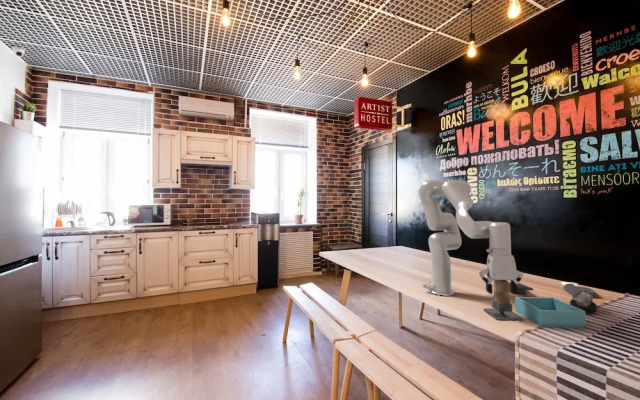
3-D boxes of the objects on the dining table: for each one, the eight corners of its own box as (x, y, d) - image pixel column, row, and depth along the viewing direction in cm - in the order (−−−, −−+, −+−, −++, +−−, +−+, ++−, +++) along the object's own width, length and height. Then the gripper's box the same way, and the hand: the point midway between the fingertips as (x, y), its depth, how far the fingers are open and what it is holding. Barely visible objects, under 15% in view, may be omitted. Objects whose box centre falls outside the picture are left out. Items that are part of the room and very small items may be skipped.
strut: (499, 311, 113) (498, 282, 113) (492, 306, 118) (491, 278, 118) (512, 311, 112) (511, 282, 113) (504, 307, 118) (503, 278, 118)
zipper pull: (512, 286, 133) (502, 274, 156) (512, 300, 133) (503, 286, 156) (535, 288, 129) (522, 276, 152) (535, 302, 129) (522, 288, 152)
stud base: (496, 320, 111) (496, 306, 111) (483, 310, 120) (483, 297, 121) (522, 320, 110) (522, 306, 110) (507, 310, 120) (507, 298, 120)
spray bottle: (571, 297, 137) (555, 284, 159) (601, 299, 132) (580, 286, 154) (571, 291, 137) (555, 279, 159) (601, 293, 132) (580, 281, 154)
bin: (541, 326, 104) (541, 310, 104) (515, 311, 119) (515, 297, 119) (585, 327, 103) (585, 311, 103) (553, 311, 118) (553, 297, 118)
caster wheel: (583, 320, 115) (562, 308, 125) (610, 314, 115) (586, 302, 124) (582, 306, 114) (560, 294, 124) (609, 299, 114) (585, 289, 124)
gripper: (483, 253, 113) (484, 295, 112) (527, 253, 111) (529, 296, 111) (474, 250, 120) (475, 290, 120) (516, 250, 119) (517, 290, 118)
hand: (501, 292), depth 115 cm, fingers open, 9 cm apart
